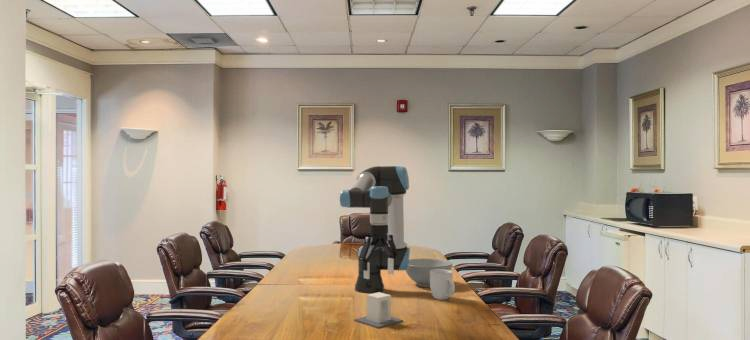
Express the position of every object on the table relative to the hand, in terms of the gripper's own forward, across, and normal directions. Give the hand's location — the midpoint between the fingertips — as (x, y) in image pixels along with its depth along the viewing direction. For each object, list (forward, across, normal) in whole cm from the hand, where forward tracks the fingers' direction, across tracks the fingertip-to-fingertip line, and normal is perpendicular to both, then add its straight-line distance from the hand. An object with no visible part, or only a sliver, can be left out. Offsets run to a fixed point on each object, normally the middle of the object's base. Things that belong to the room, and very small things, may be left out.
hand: (378, 276), depth 209 cm
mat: (+18, 0, 0) cm, 18 cm away
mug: (+19, +49, +7) cm, 53 cm away
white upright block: (+18, 0, 0) cm, 18 cm away
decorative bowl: (+19, +68, +33) cm, 78 cm away
